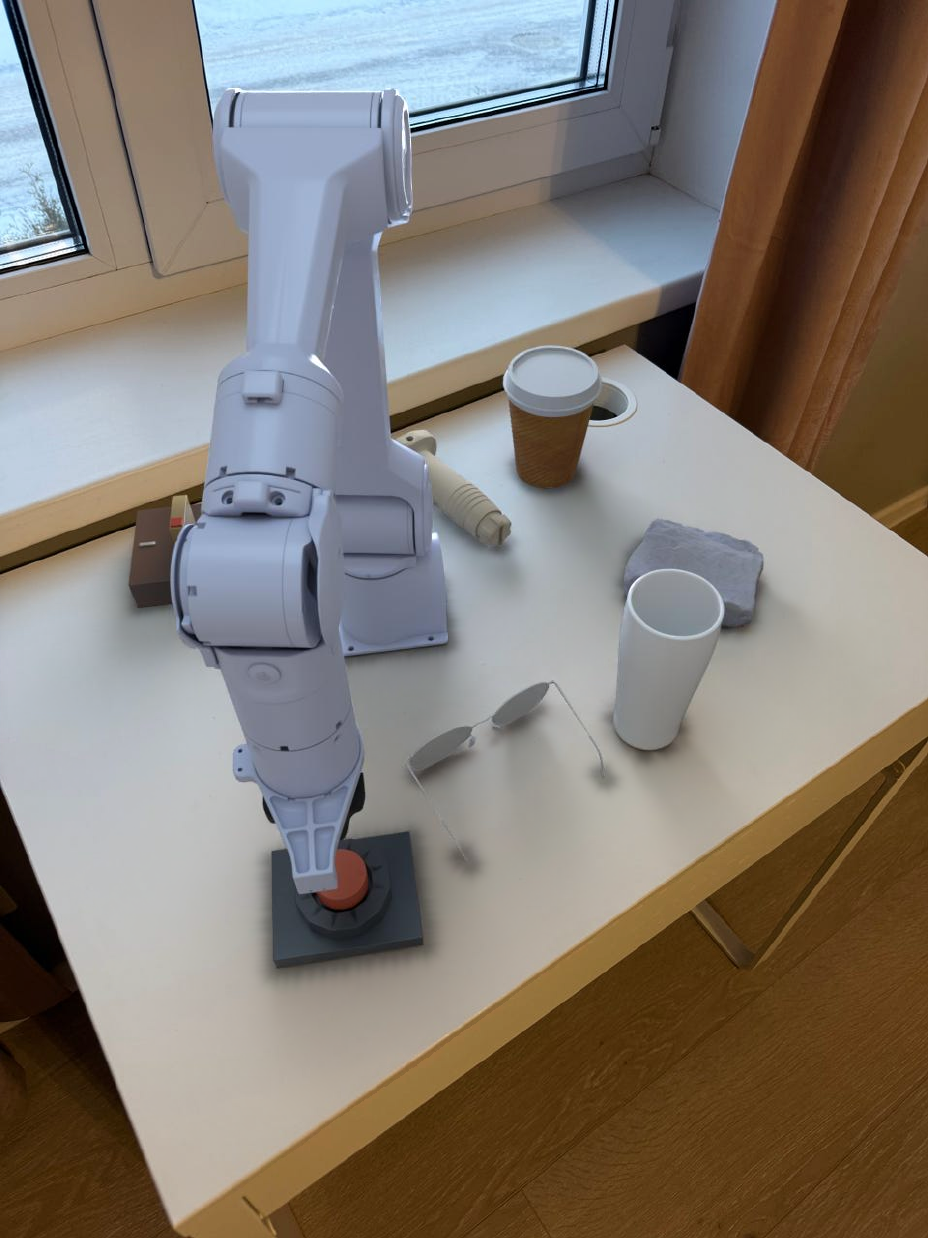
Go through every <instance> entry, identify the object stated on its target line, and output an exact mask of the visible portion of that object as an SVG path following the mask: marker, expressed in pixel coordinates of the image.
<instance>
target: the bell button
mask: <svg viewBox="0 0 928 1238" xmlns="http://www.w3.org/2000/svg"><path fill="white" fill-rule="evenodd" d="M335 868H336V872H337V882H338V888H337V889H331V890H325V891H319V892H316V893H317V896H318V898H319V900H320V901H321V902H322V903H323V904H324V905H325V906H327V907H329V908H331V909H335V910H345V909H349V908H351V907H353V906H355V905H357V904H358V903H359V902H360V901H361V900H362V899H363V898H364V896H365V894H366V892H367V890H368V884H369V881H368V875H367V870H366V866H365V863H364V861H363V860H362V858H361V857H360V856H359V855H358V854H356V853H354V852H352V851H349V850H342V849H341V850H337V851H336V856H335Z"/></svg>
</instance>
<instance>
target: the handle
mask: <svg viewBox="0 0 928 1238" xmlns="http://www.w3.org/2000/svg"><path fill="white" fill-rule="evenodd" d="M394 440H395V441H397V442H399V443H400V444H402V445H404V446H406V447H408V448H409V449H411V450H413V451H415V452H417V453H418V454H420V455H422V456H423V457H424V458H425V463H426V465H428V467H429V480H430V484H431V486H432V497H433V503H434V504H435V505H436V506H437V507H439V508H440V510H441V511H442V512H443V513H444V514H445V515H446V516H447V517H448V518H449V519H451V521H453V522H454V523H455V524H457V526H458V527H460V528H462V529H463V530H464V531H465V532H467V533H468V534H469V535H471V536H473V537H474V538H476V539H478V540H479V542H481V543H482V544H483V545H485V546H486V547H493V546H494V547H500V546H501V545H502V544H503V542H504V541H505V540H506V539H507V538H508V537H509V536H510V535H511V533H512V530H511V527H512V525H513V524H512V521H511V520H510V519H509V517H507V516H506V515H505V514H503V513H502V511H501V510H500V509H499V507H498V506H497V505H496V504H495V503H494V502H493V501H492V500H491V499H490V498H489V497H488V496H487V495H486V494H485V493H484V492H483V491H482V490H481V489H479V488H478V487H477V486H475V484H473V483H472V482H470V481H469V480H468V479H466V478H465V477H463V476H461V474H459V473H457V472H456V471H455V470H453V468H451V467H449V466H448V465H447V464H445V463H444V462H443V461H441V460H440V459H439V458H437V457H436V453H437V440H436V439H435V437H434V435H432V434H431V433H430V432H429V431H428V430H426V429H416V430H412V431H409V432H406V433H405V434H402V435H401V436H399V437H397V438H396V439H394Z"/></svg>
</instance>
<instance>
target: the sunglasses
mask: <svg viewBox="0 0 928 1238" xmlns="http://www.w3.org/2000/svg"><path fill="white" fill-rule="evenodd" d="M551 684H553V685H554V686H555V687H556V688H557V690H558V692H559V693H560V695H561V697H563V700H564V701H565V702H566V703H567V705H568V706H569V708H570V710H571V711H572V713H573V714H574V715H575V717H576V718H577V720H578V722H579V723H580V725H581V726H582V728H583V729H584V730H585V732H586V733H587V735H588V738H589V740H591V742H592V744H593V746H594V747H595V749H596V751H597V752H598V755H599V760H600V767H601V769H600V770H601V777H602V778H603V779H604V780H606V775H605V774H606V772H605V768H604V761H603V755H602V752H601V750H600V748H599V746H598V744H597V743H596V741H595V740H594V738H593V736H592V735H591V734H590V733H589V732H588V730H587V728H586V727H585V726H584V723H583V722H582V720H581V718H580V717H579V716H578V714H577V712H576V710H575V709H574V708H573V706H572V704H571V703H570V701H569V700H568V698H567V696H566V695H565V693H564V692H563V690H562V688H561V687H560V685H559V684H558V683H557V681H555V680H553V679H552V680H550V681H544V680H543V681H539V682H535V683H533V684H531V685H529V686H527V687H524V688H523V689H521V690H520V691H517V692H516V693H515V694H513V695H512V696H510V697H509V698H508V699H506V700H505V701H504V702H503V703H502V704H501V705H500V706H499V707H498V708H497V709H496V711H495V712H494V713H493V714H491V715H489V716H488V717H486V718H485V719H483V720H481V721H478V722H476V723H474V724H473V725H468V724H467V725H465V724H464V725H463V724H462V725H458V726H455V727H451V728H449V729H447V730H445V731H442V732H440V733H439V734H437V735H435V736H432V738H430V739H428V740H427V741H425V743H423V744H421V745H420V746H419V747H418V748H417V749H416V750H415V752H414V753H413V754H412V755H409V756H408V757H406V758H405V759H404V765H405V767H406V769H407V770H408V772H409V773H410V774H411V776H412V778H413V779H414V781H415V782H416V783H417V785H418V787H419V789H420V790H421V792H422V793H423V794H424V796H425V798H426V799H427V800H428V802H429V803H430V804H431V807H432V808H433V809H434V811H435V812H436V814H437V815H438V817H439V818H440V820H441V823H442V824H443V826H444V827H445V829H446V830H447V831H448V833H449V835H450V836H451V837H452V839H453V841H454V842H455V843H456V845H457V846H458V849H459V850H460V852H461V855H462V857H463V859H464V860H465V861H466V862H468V860H467V858H466V856H465V854H464V851H463V850H462V848H461V846H460V843H459V842H458V840H457V838H456V837H455V835H454V834H453V832H452V831H451V829H450V828H449V826H448V824H447V823H446V821H445V820H444V819H443V818H442V817H441V815H440V813H439V812H438V810H437V808H436V807H435V805H434V804H433V801H431V799H430V797H429V796H428V793H427V792H426V790H425V788H424V787H423V786H422V784H421V783H420V781H419V779H418V778H417V776H416V774H415V772H414V771H421V770H425V769H427V768H429V767H432V766H434V765H435V764H438V763H439V762H440V761H442V760H444V759H445V758H447V757H449V756H450V755H451V754H452V753H454V752H455V751H456V750H457V749H458V748H460V747H461V746H462V745H463V744H464V743H465V742H466V741H467V740H468V739H469V743H468V744H467V748H468V749H470V748H472V747H473V746H474V745H475V743H476V741H477V738H478V737H477V736H478V735H477V734H475V735H474V736H473V735H472V732H473V728H475V727H477V726H479V725H481V724H483V723H485V722H487V721H489V720H490V719H491V722H492V725H491V729H493V730H494V731H497V732H501V731H502V727H501V726H503V725H507V724H509V723H511V722H514V721H516V720H519V718H521V717H523V716H525V715H526V714H527V713H529V712H530V711H532V710H533V709H534V708H535V707H537V706H538V705H539V704H540V703H541V701H542V700H543V699H544V698H545V696H546V695H547V693H548V691H549V689H550V685H551ZM470 737H471V738H470ZM408 761H409V763H408ZM413 770H414V771H413Z"/></svg>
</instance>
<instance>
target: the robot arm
mask: <svg viewBox="0 0 928 1238" xmlns="http://www.w3.org/2000/svg"><path fill="white" fill-rule="evenodd" d="M383 90H384V91H382V90H376V91H374V90H324V91H323V90H315V91H314V90H242V89H241V88H240V87H239V88H236V87H235V88H232V87H229V88H227V89H225V91H224V92H223V93H222V95H221V98H220V99H219V101H218V102H217V104H216V106H215V108H214V114H213V120H212V148H213V158H214V159H213V160H214V165H215V172H216V176H217V180H218V184H219V188H220V191H221V194H222V197H223V199H224V201H225V203H226V205H227V206H228V207H229V208H230V210H231V213H232V216H233V220H234V222H235V225H236V227H237V229H238V230H239V231H240V232H242V233H244V234H246V235H248V246H247V247H248V250H247V253H248V254H247V297H246V300H247V301H246V302H247V303H246V307H247V308H246V309H247V310H246V352H244V353H243V354H241V355H239V356H237V357H236V358H234V359H232V360H231V361H230V362H229V363H226V365H225V366H224V367H223V368H222V370H221V371H220V373H219V374H218V377H217V382H216V391H215V396H214V397H215V398H214V405H213V406H214V407H213V415H212V422H211V429H210V438H209V446H208V453H207V461H206V468H205V475H204V485H203V490H202V491H203V492H202V498H201V504H202V506H201V513H202V516H201V517H200V518H199V519H198V521H197V525H194V524H187V525H185V526H184V527H183V528H182V529H181V531H180V533H179V535H178V537H177V541H176V542H175V546H174V550H173V555H172V563H171V596H172V603H171V604H172V608H173V612H174V617H175V628H176V633H177V635H178V637H179V638H180V640H181V642H182V643H183V644H184V646H186V647H187V648H188V649H193V650H198V651H199V652H200V654H201V657H202V659H203V662H204V665H205V667H207V668H214V669H216V670H220V672H221V675H222V677H223V681H224V683H225V686H226V689H227V692H228V695H229V698H230V700H231V703H232V706H233V709H234V712H235V715H236V718H237V720H238V723H239V727H240V728H241V731H242V734H243V737H244V740H245V742H246V743H242V744H239V745H237V746H235V748H234V749H233V751H232V773H233V777H234V778H235V780H236V781H237V782H238V783H250V782H252V783H254V784H256V785H257V786H258V788H259V791H260V793H261V796H262V797H261V798H262V803H261V804H262V809H263V812H264V815H265V817H266V818H267V821H268V822H269V823H270V824H272V825H276V828H277V830H278V832H279V834H280V837H281V838H282V841H283V843H284V846H285V847H286V849H287V850H288V852H289V855H290V859H291V864H292V874H293V879H294V882H295V885H296V888H297V891H298V893H299V894H304V893H313V892H319V891H325V890H331V889H337V888H338V882H337V872H336V868H335V856H336V851H337V847H338V843H339V840H343V839H346V837H347V834H348V832H349V827H350V821H351V819H352V818H353V816H354V815H356V814H358V813H360V812H362V811H363V809H364V805H365V801H366V787H365V786H366V784H365V774H364V772H363V771H362V770H363V766H364V762H365V745H364V741H363V736H362V733H361V731H360V729H359V727H358V725H357V722H356V717H355V710H354V706H353V701H352V694H351V687H350V682H349V678H348V672H347V671H348V670H347V665H346V660H345V657H352V656H360V655H367V654H375V653H382V652H383V653H384V652H392V651H399V650H406V649H415V648H422V647H430V646H439V645H444V644H447V643H448V642H449V634H448V622H447V621H448V620H447V619H448V617H447V604H448V594H447V587H446V578H445V569H444V560H443V554H442V549H441V548H442V547H441V541H440V538H439V534H438V532H433V524H434V523H433V522H434V521H433V520H434V501H433V497H432V486H431V484H430V480H429V467H428V465H426V463H425V458H424V457H423V456H422V455H420V454H418V453H417V452H415V451H413V450H411V449H409V448H408V447H406V446H404V445H402V444H400V443H399V442H397V441H395V440H396V439H393V438H392V434H391V420H390V406H389V392H388V378H387V366H386V365H387V364H386V351H385V340H384V324H383V311H382V299H381V298H382V297H381V296H382V295H381V285H380V283H381V282H380V271H379V258H378V257H379V256H378V248H379V244H380V241H381V238H382V234H383V233H384V232H385V231H387V229H389V228H393V227H396V226H400V225H404V224H408V223H409V221H410V216H411V215H412V211H413V186H412V141H411V125H410V115H409V108H408V104H407V102H406V100H405V99H404V98H403V97H402V95H401V94H400V93H399V90H397V88H395V87H389V88H384V89H383Z"/></svg>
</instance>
